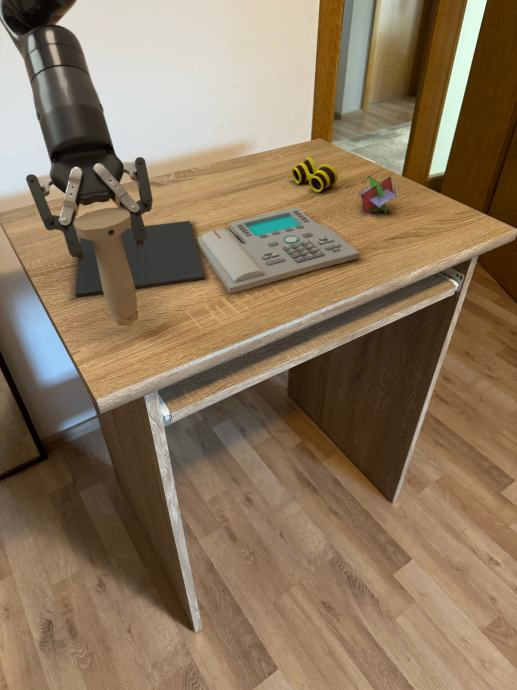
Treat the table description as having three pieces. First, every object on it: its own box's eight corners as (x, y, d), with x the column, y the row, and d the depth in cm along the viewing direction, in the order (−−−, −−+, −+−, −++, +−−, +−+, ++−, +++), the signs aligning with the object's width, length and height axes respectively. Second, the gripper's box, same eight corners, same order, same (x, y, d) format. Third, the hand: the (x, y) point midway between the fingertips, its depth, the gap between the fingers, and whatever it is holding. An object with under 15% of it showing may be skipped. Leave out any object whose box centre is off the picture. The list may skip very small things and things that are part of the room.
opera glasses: (290, 184, 108) (287, 163, 104) (308, 174, 109) (305, 152, 106) (321, 198, 102) (319, 176, 98) (339, 187, 103) (337, 165, 100)
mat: (75, 297, 75) (74, 294, 74) (81, 236, 89) (80, 233, 89) (204, 279, 78) (204, 276, 77) (190, 223, 93) (189, 220, 92)
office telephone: (229, 281, 73) (187, 225, 87) (230, 295, 74) (189, 238, 88) (361, 245, 80) (302, 198, 93) (359, 259, 81) (301, 211, 95)
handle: (155, 320, 66) (136, 218, 56) (110, 338, 63) (82, 234, 54) (140, 303, 69) (119, 203, 59) (97, 320, 66) (67, 218, 57)
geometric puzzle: (363, 212, 90) (390, 173, 87) (343, 198, 95) (369, 161, 92) (385, 227, 94) (412, 191, 92) (365, 213, 99) (390, 178, 96)
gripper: (131, 129, 64) (167, 249, 63) (15, 145, 60) (52, 274, 59) (132, 94, 57) (172, 230, 56) (0, 110, 53) (42, 256, 52)
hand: (110, 252), depth 58 cm, fingers closed on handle, 6 cm apart
